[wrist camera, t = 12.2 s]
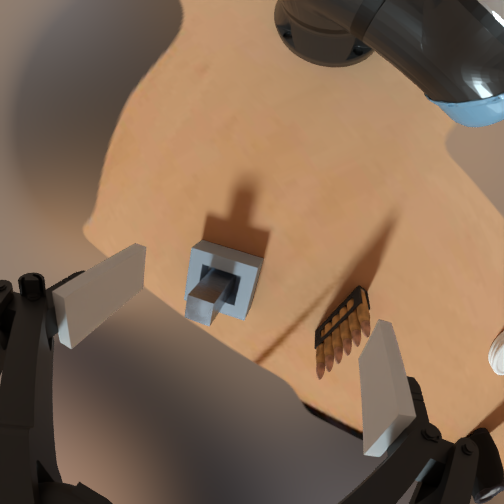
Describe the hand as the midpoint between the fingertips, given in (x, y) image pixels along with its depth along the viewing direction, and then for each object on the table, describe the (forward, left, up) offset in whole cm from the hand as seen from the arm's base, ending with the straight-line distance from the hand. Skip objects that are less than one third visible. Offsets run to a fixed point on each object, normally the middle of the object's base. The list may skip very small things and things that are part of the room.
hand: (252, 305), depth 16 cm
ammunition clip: (+14, +11, -29) cm, 34 cm away
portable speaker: (+39, +61, -29) cm, 78 cm away
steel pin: (+14, -8, -28) cm, 32 cm away
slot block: (+14, -8, -29) cm, 33 cm away
